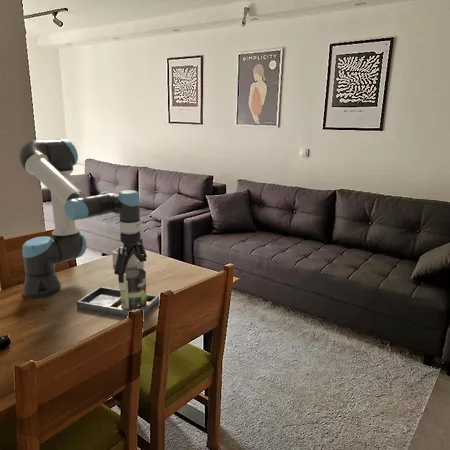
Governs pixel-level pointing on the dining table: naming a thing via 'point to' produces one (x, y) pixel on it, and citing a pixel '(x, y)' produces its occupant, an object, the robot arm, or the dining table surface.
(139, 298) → the coffee can
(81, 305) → the grey divided tray
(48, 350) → the dining table surface
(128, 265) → the lumpy-topped squat cylinder
